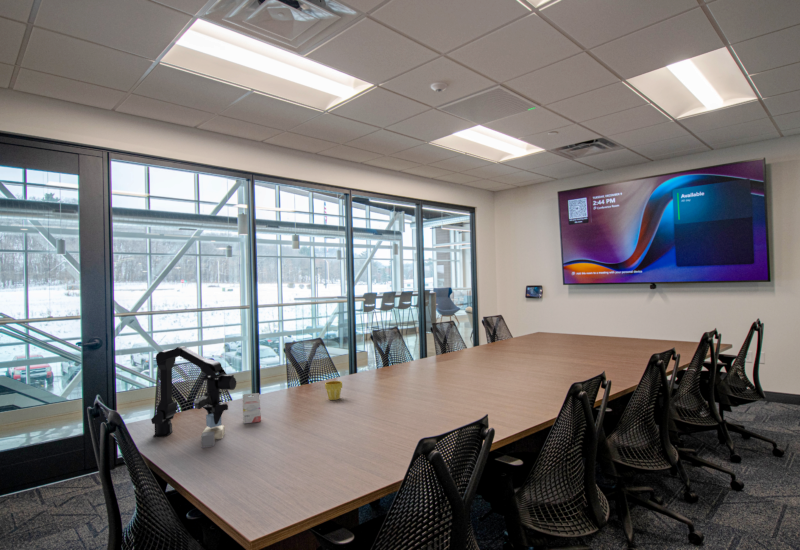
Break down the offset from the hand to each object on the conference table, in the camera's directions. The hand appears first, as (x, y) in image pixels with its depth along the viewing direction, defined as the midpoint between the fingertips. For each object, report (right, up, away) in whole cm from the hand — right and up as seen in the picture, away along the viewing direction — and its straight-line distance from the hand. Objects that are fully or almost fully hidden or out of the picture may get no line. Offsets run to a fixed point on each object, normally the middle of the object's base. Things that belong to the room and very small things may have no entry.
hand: (213, 423), depth 207 cm
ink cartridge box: (+11, -7, +22) cm, 25 cm away
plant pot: (+47, -6, +63) cm, 78 cm away
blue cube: (0, -1, 0) cm, 1 cm away
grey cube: (+2, -6, -11) cm, 13 cm away
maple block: (0, -7, 0) cm, 6 cm away
